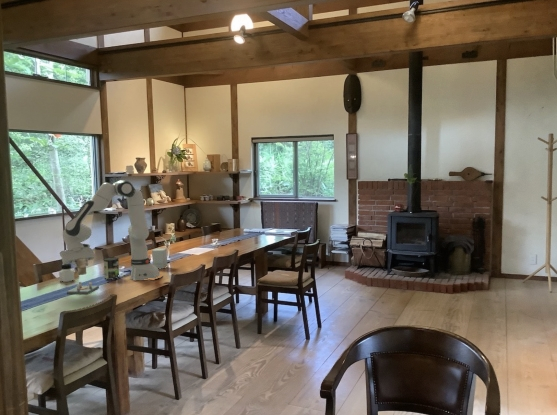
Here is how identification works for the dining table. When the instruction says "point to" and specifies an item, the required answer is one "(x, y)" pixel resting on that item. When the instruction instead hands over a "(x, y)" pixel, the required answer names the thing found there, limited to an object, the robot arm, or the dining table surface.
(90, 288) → the pin board
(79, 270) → the birch peg
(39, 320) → the dining table surface
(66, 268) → the medicine bottle
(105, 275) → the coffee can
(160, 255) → the supplement box
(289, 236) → the dining table surface
